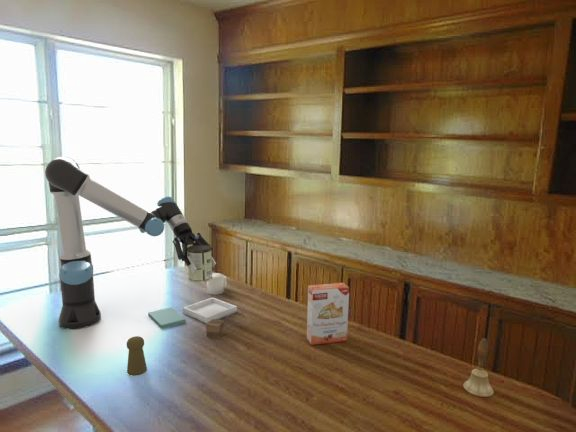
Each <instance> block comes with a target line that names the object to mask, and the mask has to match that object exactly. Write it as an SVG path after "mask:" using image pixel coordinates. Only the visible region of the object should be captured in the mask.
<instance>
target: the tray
mask: <svg viewBox="0 0 576 432" xmlns="http://www.w3.org/2000/svg"><path fill="white" fill-rule="evenodd" d="M235 313H238V306H237V305H234V304H232V303H229V302H227V301H223V300H221V299H219V298H215V297H213V296H212V297H209V298H206V299H203V300H201V301H197V302H195V303H192V304H190V305H186V306H184V307H182V314H184V315H186V316H188V317H191V318H194V319H195V320H197V319H198V321H200V322H202V323H205V324H207V323H208V322H210V321H211V320H212V319H217V320H222V319H223V318H225V317H227V316H230V315H233V314H235Z"/></svg>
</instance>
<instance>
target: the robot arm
mask: <svg viewBox="0 0 576 432" xmlns="http://www.w3.org/2000/svg"><path fill="white" fill-rule="evenodd" d="M44 172H45V178H46V180H47V182H48V187H49V193H50V194H52V195H53V196H54V199H55V204H56V212H57V219H58V220H57V221H58V225H59V232H60V239H61V247H62V252H63V253H62V254H61V255H60V256H59V259H60V260H59V261H60V268H59V274H58V275H59V276H58V277H59V280H60V281H59V282H60V292H61V301H62V303H61V304H62V306H61V308H60V309H61V310H60V313H59V317H58V325H59V327H60V326H61V328H62V327H63V329H66V328H69V329H68V330H76V329H78V330H79V329H82V328H89V327H91V326H93V325H96V324H97V323H98V322H100V321H101V319H102V315H101V314H102V313H101V310H100V308H99V307H98V304H97V302H96V299H95V298H96V297H95V296H96V295H95V284H94V265H93V263H92V262H93V261H92V255H91V252H90V251H89V250H87V246H86V239H85V232H84V226H83V225H84V224H83V219H82V218H83V217H82V212H81V204H80V202H81V201H80V197H82V198H83V199H85V200H87V201H89V202H91V203H93V204H95V205H96V206H98V207H100V208H101V209H103V210H105V211H107V212H108V213H111V214H113V215H114V216H116V217H118V218H120V219H122V220H123V221H125V222H127V223H130V224H131V225H133V226H135V227H136V228H138V229H139V232H140V233H141V234H145V233H146V234H147V235H149V236H151V237H157V236H160V235H161V234H163V233H164V231H165V224H164V223H166V222H167V224H168V226H169V228H170V229H171V231H172V232H173V235H174V236H175V237H174V238H173V240H172V243H173V245H174V247H175V248H174V249H175V252H176V256H177V259H178V260H179V261H182V262H184V263H185V264H186V266H187V267H188V266H189V267H190V269H191V271H192V272H193V273H194V272H195V271H196V269H197V268H196V266H195V265H194V263H193V261H192V260H191V258H190V256H189V257H188V250H187V248H188V246H189V245H190V246H193V245H209V246H211V245H210V244H209V242H208V241H206V239H205V238H203V236H202V235H201V233H200V232H198V233H196V234H195V233H194V232H193V230H192V228H191V226H190V223H188V220H187V219H186V218H185V216H184V214H183V213H182V211H181V209H180V208H179V206H178V203H176V201H175V199H174V198H173V197H172V196H164V197H162V198H161V199H160V200H158V201H157V203H156V204H157V206H156V207H155V208H153V209H151V210H148V211H147V210H145V209H143V208H141V207H139V206H138V205H136V204H135V203H133V202H131V201H130V200H128V199H126V198H125V197H122V196H121V195H119V194H117V193H115V192H114V191H112V190H110V189H109V188H107V187H105V186H103V185H102V184H100V183H99V182H96V180H93V179H92V178H91V177H90V174H88V173H86V172H85V171H83V170H82V169H80V166H79V164H78V163H77V162H76V161H75V160H74V159H72V158H71V157H67V156H59V157H55V158H53V159H52V160H51V161H49V162H48V164H47V165H46V167H45V170H44ZM212 250H213V247H212V249H211V251H212ZM216 264H217V262H216V261H215V259H214V256H213V254H212V268H214V267H215V266H216Z"/></svg>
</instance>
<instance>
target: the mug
mask: <svg viewBox="0 0 576 432" xmlns="http://www.w3.org/2000/svg"><path fill="white" fill-rule="evenodd" d="M227 279H228V278H227V276H225V275H224V274H223V273H219V272H217V273H216V272H212V280H210V281H207V282H206V292H207V294H209V295H212V296H214V295H221V294H223V293H224V292H225V288H227V281H228V280H227Z"/></svg>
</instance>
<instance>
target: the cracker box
mask: <svg viewBox="0 0 576 432" xmlns="http://www.w3.org/2000/svg"><path fill="white" fill-rule="evenodd" d="M349 302H350V287H349V286H348V285H346V284H345V282H334V283H324V284H323V283H321V284H309V285H307V313H306V314H307V317H306V318H307V321H306V339H307V341H308V342H309V344H310V345H311V346H313V345H314V346H315V345H322V344H323V345H324V344H329V343H330V344H332V343H338V342H339V343H340V342H347V341H348V328H349V327H348V324H349V323H348V322H349V321H348V320H349V305H350V303H349Z"/></svg>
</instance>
